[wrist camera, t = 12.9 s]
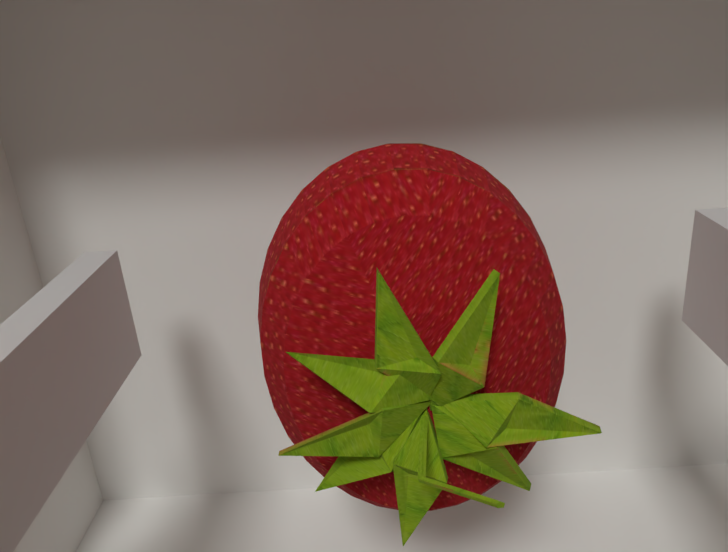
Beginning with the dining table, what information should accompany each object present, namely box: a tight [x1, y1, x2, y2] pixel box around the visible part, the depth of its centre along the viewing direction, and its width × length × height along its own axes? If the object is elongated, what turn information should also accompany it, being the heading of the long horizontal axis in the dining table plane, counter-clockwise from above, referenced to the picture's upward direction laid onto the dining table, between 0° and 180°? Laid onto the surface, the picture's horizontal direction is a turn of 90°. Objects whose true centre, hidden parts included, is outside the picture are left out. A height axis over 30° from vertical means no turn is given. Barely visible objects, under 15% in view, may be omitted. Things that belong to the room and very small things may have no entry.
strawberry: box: [258, 143, 602, 546], centre depth 13 cm, size 6×8×10 cm
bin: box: [0, 0, 728, 552], centre depth 16 cm, size 18×22×6 cm
